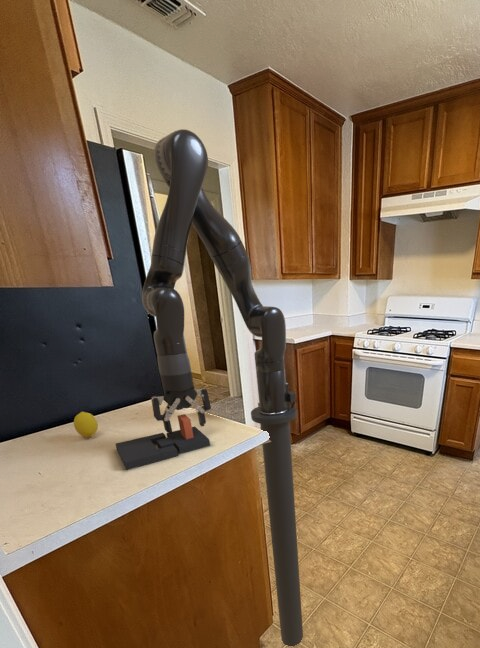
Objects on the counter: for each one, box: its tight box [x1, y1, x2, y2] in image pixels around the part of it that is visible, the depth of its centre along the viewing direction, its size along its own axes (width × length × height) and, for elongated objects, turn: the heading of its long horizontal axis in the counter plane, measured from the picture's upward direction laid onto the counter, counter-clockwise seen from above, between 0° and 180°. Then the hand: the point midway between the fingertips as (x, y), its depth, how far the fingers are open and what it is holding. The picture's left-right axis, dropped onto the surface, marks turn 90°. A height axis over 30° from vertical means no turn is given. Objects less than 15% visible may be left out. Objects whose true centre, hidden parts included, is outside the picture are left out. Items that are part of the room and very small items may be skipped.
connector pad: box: [156, 413, 211, 455], centre depth 95 cm, size 12×12×8 cm
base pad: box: [115, 432, 179, 471], centre depth 92 cm, size 12×14×2 cm
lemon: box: [73, 411, 99, 439], centre depth 101 cm, size 6×6×8 cm
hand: (186, 429), depth 96 cm, fingers open, 8 cm apart
